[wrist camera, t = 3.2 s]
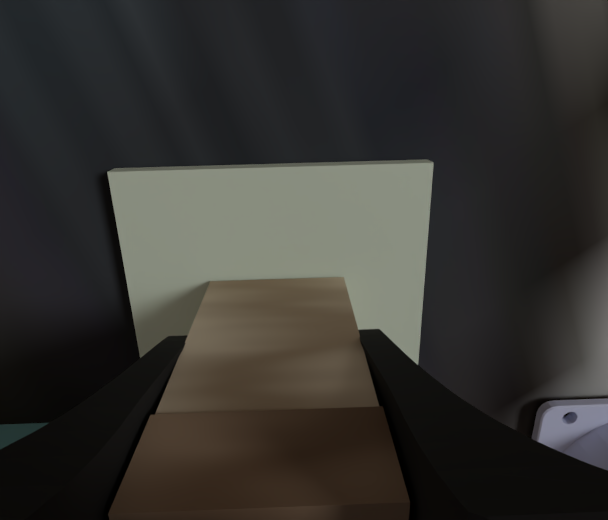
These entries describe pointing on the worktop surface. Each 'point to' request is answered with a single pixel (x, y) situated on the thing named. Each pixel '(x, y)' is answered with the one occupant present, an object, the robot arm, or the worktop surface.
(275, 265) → the mat
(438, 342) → the worktop surface
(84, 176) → the worktop surface
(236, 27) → the worktop surface
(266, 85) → the worktop surface
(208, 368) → the brown wooden box
